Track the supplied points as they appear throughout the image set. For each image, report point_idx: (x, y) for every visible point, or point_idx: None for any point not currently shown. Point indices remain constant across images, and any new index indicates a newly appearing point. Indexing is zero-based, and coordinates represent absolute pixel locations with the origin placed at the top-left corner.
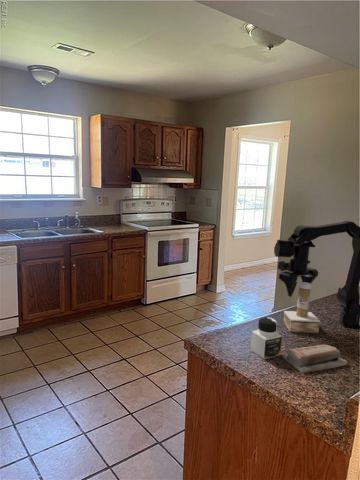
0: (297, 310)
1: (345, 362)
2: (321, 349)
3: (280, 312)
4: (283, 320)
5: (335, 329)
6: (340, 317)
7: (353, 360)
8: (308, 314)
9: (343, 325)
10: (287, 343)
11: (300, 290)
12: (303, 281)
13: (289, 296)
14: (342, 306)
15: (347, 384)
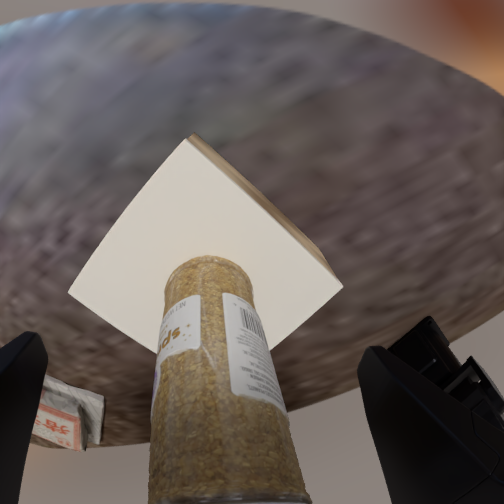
0: (167, 297)
1: (92, 441)
2: (35, 428)
3: (335, 34)
4: (193, 133)
5: (329, 350)
6: (419, 348)
7: (136, 441)
8: (277, 303)
9: (389, 349)
10: (14, 302)
11: (148, 487)
12: (459, 484)
13: (32, 342)
14: (464, 369)
15: (44, 441)
